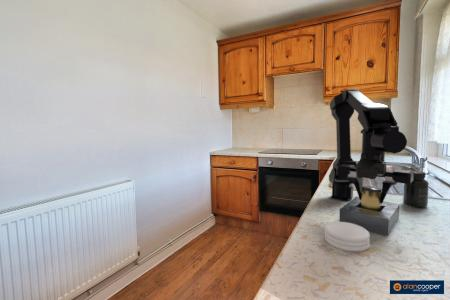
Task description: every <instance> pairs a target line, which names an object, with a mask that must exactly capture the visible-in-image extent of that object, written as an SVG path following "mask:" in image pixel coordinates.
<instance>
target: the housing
mask: <svg viewBox="0 0 450 300" xmlns="http://www.w3.org/2000/svg"><path fill="white" fill-rule="evenodd" d="M400 205H401V204H400V203H396V202H389V201H385V200H384V201H383V203H382V204H381V208H380V212H378V211H373V210H368V209H363V208H361V200H360V199H359V196H355V197H353V199H352V198H351V199H350V201H347V203H345V204H344V205H343V206H342V207H340V209H339V220H338V222H347V223H352V224H356V225H359V226H361V227H363V228H365V229H366V230H367V231H368V232H369V233H374V234H378V235H382V236H386V237H389V235H390V234H391V232H392V230H393V229H394V227H395V226H396V224H397V222H398V220H399V219H400Z"/></svg>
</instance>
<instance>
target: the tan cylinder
mask: <svg viewBox="0 0 450 300" xmlns="http://www.w3.org/2000/svg"><path fill="white" fill-rule="evenodd" d="M381 192H382V187H381V188H380V187H378V186H371V185H370V186H369V185H364V186H363V187H362V194H361V208H363V209H368V210H373V211H378V212H380V208H381V203H380V198H381Z"/></svg>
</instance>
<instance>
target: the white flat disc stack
mask: <svg viewBox="0 0 450 300" xmlns="http://www.w3.org/2000/svg"><path fill="white" fill-rule="evenodd" d="M370 236H371V235H370V232H369V231H367V230H366V229H365V228H363V227H361V226H359V225H356V224H352V223H347V222H339V221H332V222H329V223H327V224H326V225H325V226H324V240H325V242H326V243H328V245H330V246H332V247H333V248H336V249H338V250H342V251H345V252H353V253H357V252H365V251H366V250H368V249H369V248H370V241H371V240H370Z"/></svg>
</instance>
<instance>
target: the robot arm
mask: <svg viewBox="0 0 450 300" xmlns="http://www.w3.org/2000/svg"><path fill="white" fill-rule="evenodd" d="M329 109H330V111H331V116H332V117H333V119H334V120H335V124H336V125H335V126H336V128H335V129H336V130H335V131H336V158H335V159H334V162H333V163H332V167H331V168H332V169H331V171H330V173H329V174H328V181H329V182H330V184H332V186H331V188H332V189H331V196H330V198H331V199H334V200H335V199H336V200H339V201H345V202H349V200H350V201H351V200H352V198H353V199H354V193H353V192H354V187H355V190H356V192H357V197H359V199H360V200H361V194H362V187H363V183H364V182H363V179H369V180H375V179H377V177H378V178H384V180H383V181H382V187H381V189H382V191H381V198H380V203H381V204H382V203H383V201H384V202H385V198H386V197H387V195H388V193H389V191H390V189H391V187H392V186H396V185H397V184H399V183H400V184H404V183H405V184H411V182H412V181H413V172H412V171H413V170H410V169H409V170H408V169H407V170H406V169H398V168H397V169H395V170H393V171H387V162H386V161H385V157H386V156H385V155H386V153H388V154H389V153H390V154H399V153H401V152H402V151H404V149H406V147H407V145H408V140H407V137H406V135H405V134H404V133H403V132H401V131H400V126H398V122H397V120H396V119H395V116H394V113H393V111H392V109H391V108H390V106H388V105H386V104H382V103H376V102H373V101H372V100H371V99H369V98H368V97H367V96H366V95H365V94H364V93H362V91H361V90H360V89H358V88H348V89H345V90H343V91H342V92H341V93H339V94H337V95H335V96H333V98H331V100H330V103H329ZM355 112H356V113H358V114H357V120H358V122H359V124H360V126H361V127H362V129H360V134H362V137H361V139H362V140H361V142H362V143H361V153H360V159H359V160H358V162H356V161H355V160H354V159H353V158H352V152H351V151H352V150H351V149H352V147H351V125H350V124H351V123H350V122H351V120H350V119H351V118H352V117H353V115H354V114H355ZM353 185H354V187H353Z"/></svg>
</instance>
